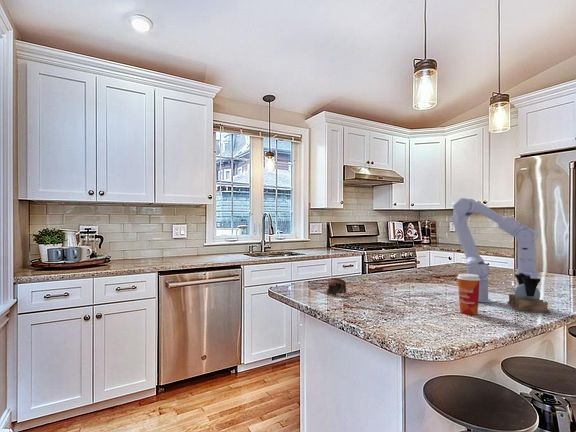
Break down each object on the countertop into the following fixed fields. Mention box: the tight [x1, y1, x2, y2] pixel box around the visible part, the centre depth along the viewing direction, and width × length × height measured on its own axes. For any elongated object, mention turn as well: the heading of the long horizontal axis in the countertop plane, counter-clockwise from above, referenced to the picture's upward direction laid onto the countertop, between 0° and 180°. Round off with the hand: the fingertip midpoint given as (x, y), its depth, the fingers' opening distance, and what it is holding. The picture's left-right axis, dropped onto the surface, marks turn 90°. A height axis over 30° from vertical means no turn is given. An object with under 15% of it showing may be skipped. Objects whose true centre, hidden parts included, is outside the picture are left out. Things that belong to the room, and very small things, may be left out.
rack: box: [507, 293, 550, 314], centre depth 128 cm, size 10×12×4 cm
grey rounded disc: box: [514, 284, 541, 300], centre depth 129 cm, size 8×2×8 cm, turn 72°
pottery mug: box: [325, 277, 347, 296], centre depth 154 cm, size 12×10×8 cm
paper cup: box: [456, 273, 481, 316], centre depth 122 cm, size 8×8×14 cm
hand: (527, 294), depth 129 cm, fingers open, 6 cm apart
